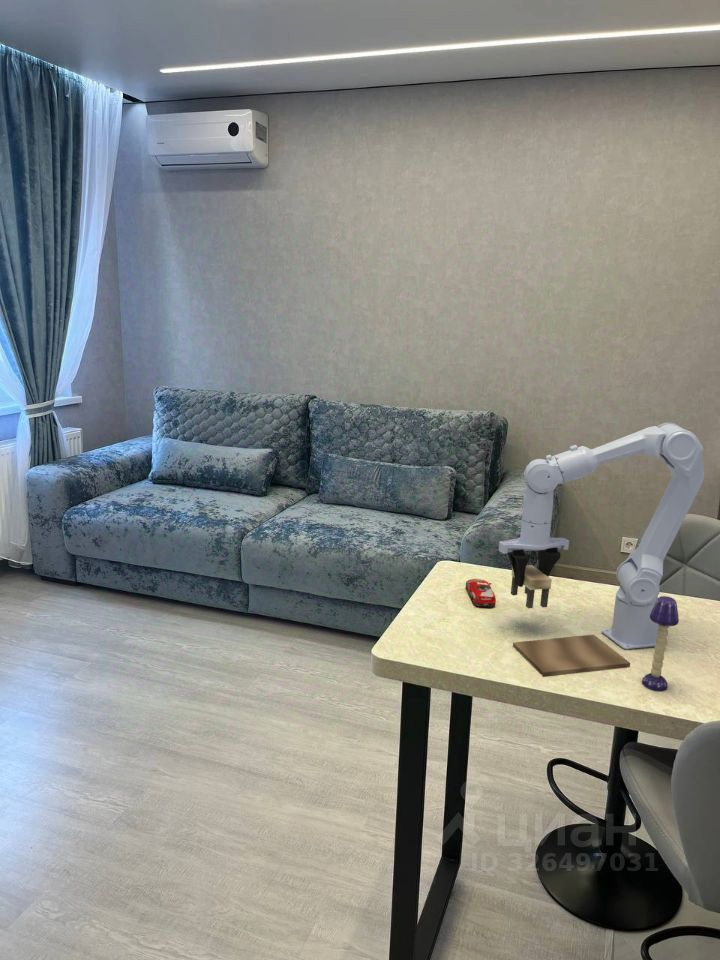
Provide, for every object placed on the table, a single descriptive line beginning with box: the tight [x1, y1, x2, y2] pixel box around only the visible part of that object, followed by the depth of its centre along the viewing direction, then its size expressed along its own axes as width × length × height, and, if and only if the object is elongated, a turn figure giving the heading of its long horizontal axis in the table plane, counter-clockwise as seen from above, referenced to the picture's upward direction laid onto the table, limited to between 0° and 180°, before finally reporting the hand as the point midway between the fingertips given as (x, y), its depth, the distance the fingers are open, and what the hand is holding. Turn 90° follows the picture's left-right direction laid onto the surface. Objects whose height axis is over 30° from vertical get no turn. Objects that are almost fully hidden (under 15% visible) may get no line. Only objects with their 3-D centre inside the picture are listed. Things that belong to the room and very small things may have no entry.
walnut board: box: [512, 634, 631, 677], centre depth 135 cm, size 18×12×1 cm, turn 105°
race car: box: [465, 578, 497, 608], centre depth 162 cm, size 13×5×4 cm, turn 0°
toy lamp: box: [641, 595, 680, 692], centre depth 124 cm, size 5×5×17 cm
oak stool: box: [510, 564, 553, 609], centre depth 144 cm, size 4×8×6 cm, turn 15°
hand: (530, 584), depth 143 cm, fingers closed on oak stool, 4 cm apart
